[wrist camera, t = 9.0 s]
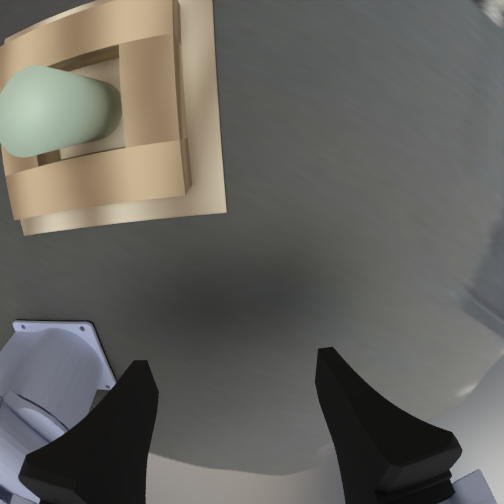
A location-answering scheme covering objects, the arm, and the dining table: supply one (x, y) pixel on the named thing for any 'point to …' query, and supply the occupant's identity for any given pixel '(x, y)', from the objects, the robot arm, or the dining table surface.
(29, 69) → the dowel
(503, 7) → the dining table surface
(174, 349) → the dining table surface
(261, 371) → the dining table surface
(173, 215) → the socket block
